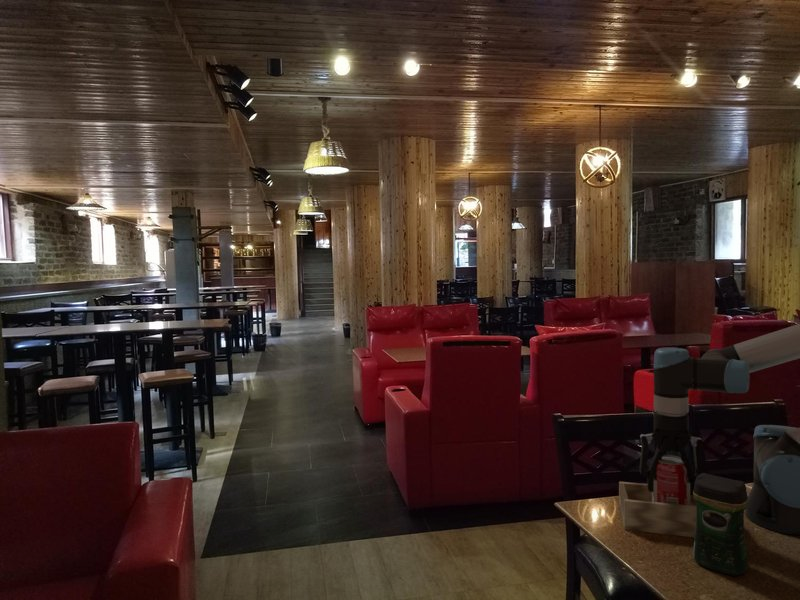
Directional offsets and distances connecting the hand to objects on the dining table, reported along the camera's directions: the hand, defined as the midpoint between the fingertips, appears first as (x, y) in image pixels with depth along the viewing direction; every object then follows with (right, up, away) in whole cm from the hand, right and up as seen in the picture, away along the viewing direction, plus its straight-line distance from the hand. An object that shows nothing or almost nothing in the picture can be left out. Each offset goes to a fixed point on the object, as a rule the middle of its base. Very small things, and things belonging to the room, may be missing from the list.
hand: (670, 505), depth 129 cm
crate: (0, -4, 0) cm, 4 cm away
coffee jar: (+1, -6, -18) cm, 19 cm away
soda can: (0, -2, 0) cm, 2 cm away
